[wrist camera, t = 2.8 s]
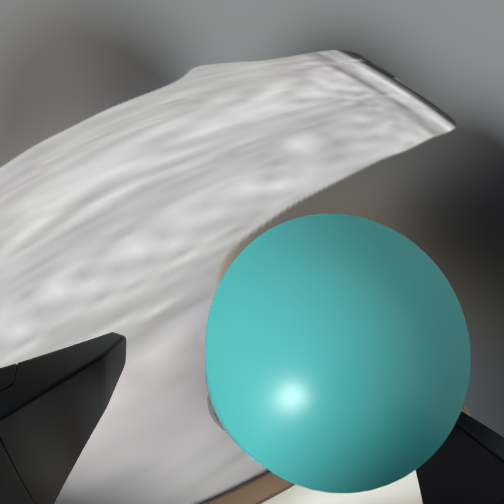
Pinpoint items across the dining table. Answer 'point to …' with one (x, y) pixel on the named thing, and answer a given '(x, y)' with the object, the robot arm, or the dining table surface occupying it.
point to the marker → (336, 353)
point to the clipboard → (319, 492)
